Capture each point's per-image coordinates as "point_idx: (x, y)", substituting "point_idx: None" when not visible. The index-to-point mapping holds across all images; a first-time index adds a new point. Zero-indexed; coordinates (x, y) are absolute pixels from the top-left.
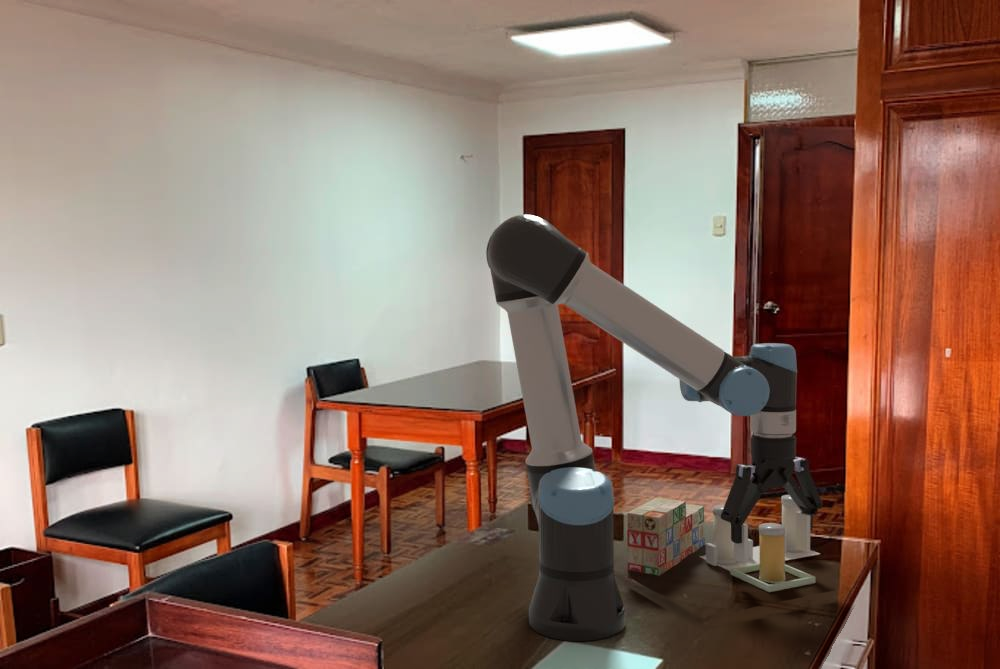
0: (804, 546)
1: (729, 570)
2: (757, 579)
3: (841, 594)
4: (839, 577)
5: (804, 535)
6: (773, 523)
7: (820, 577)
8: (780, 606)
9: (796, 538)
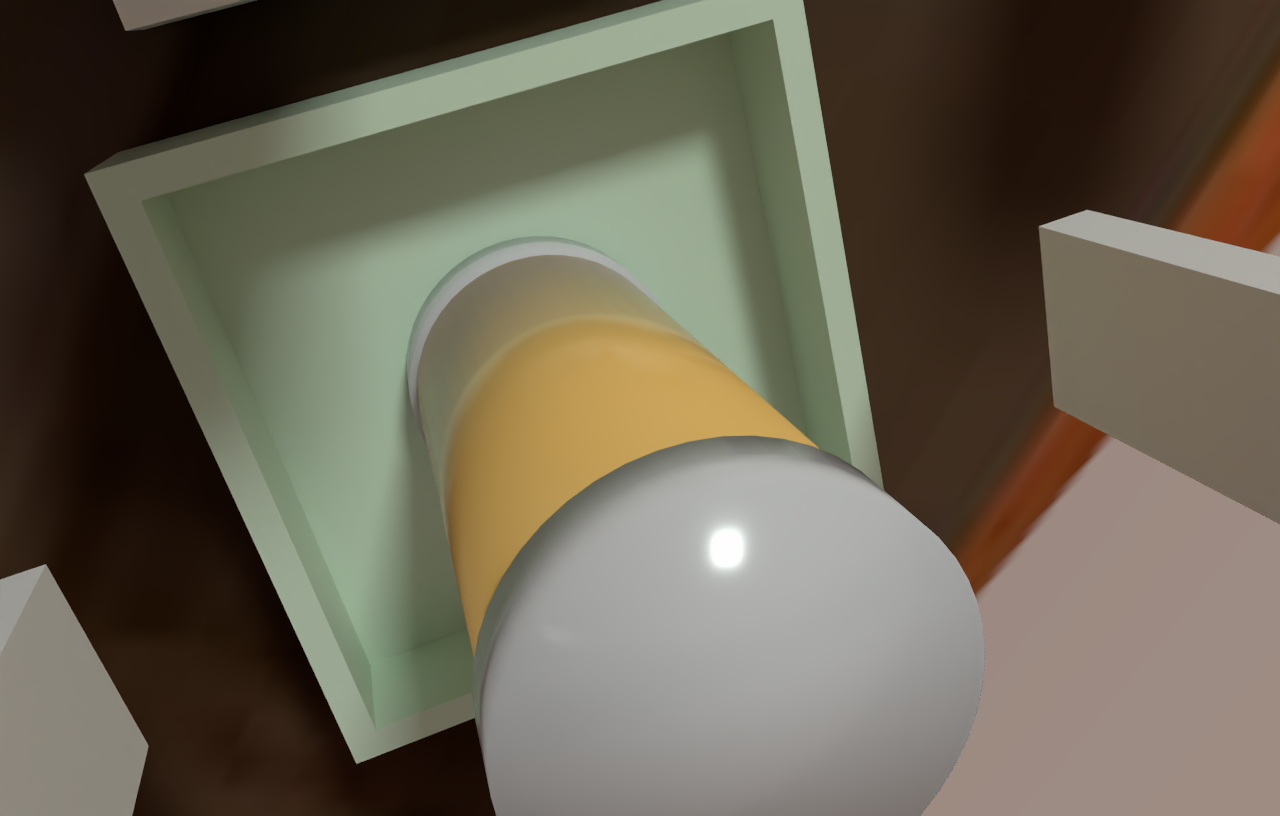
0: (1091, 391)
1: (124, 27)
2: (306, 592)
3: (970, 570)
4: (1191, 206)
5: (1204, 441)
6: (890, 522)
7: (1061, 176)
8: (401, 784)
9: (1133, 261)
